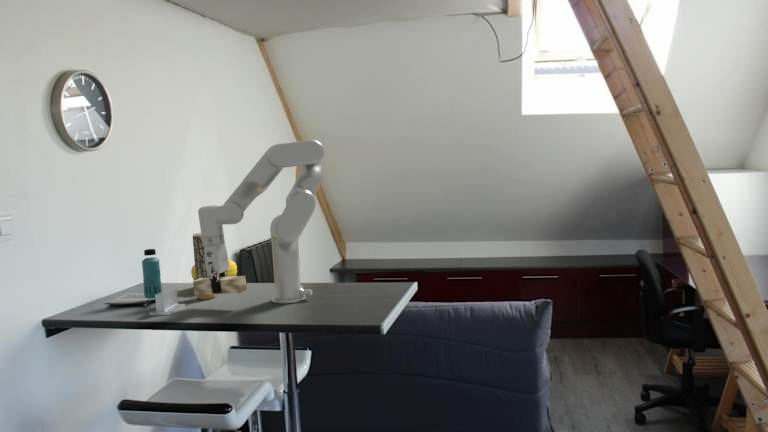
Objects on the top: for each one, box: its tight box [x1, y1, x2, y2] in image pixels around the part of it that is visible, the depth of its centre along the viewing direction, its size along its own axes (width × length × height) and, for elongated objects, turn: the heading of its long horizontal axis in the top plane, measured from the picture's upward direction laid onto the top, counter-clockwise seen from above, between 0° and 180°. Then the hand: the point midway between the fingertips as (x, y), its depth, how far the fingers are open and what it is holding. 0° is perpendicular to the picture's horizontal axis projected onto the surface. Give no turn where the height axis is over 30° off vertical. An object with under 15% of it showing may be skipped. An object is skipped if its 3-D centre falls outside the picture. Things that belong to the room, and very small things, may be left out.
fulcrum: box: [149, 287, 186, 316], centre depth 208 cm, size 7×12×7 cm, turn 173°
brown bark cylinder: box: [192, 232, 216, 301], centre depth 225 cm, size 7×7×25 cm
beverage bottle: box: [141, 248, 163, 300], centre depth 225 cm, size 6×7×20 cm
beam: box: [192, 275, 248, 296], centre depth 208 cm, size 18×5×5 cm, turn 75°
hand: (220, 290), depth 209 cm, fingers closed on beam, 5 cm apart
